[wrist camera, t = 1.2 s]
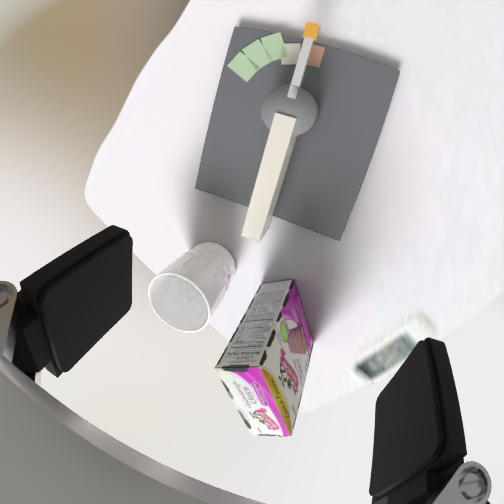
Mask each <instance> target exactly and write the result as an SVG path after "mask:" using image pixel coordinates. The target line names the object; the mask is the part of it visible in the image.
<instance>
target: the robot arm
mask: <svg viewBox="0 0 504 504" xmlns="http://www.w3.org/2000/svg"><path fill="white" fill-rule="evenodd" d="M132 246H133V240H132V237H131V236H130V234H129V232H128V231H127V230H125V229H122V228H120V227H117V226H115V225H112V226H109V227H108V228H106V229H104V230H102V231H101V232H99V233H97V234H95V235H94V236H92V237H90V238H89V239H87V240H85V241H84V242H82V243H80V244H79V245H77V246H75V247H74V248H72V249H71V250H69V251H67V252H65V253H64V254H62V255H61V256H59V257H57V258H56V259H54V260H53V261H51V262H50V263H48V264H46V265H45V266H43V267H42V268H40V269H39V270H37V271H36V272H34V273H33V274H31V275H30V276H28V277H27V278H25V279H24V280H22V281H21V282H20V286H21V290H20V291H19V292H17V289H16V287H15V286H14V285H13V284H12V283H10V282H7V281H0V504H265V503H262V502H258V501H255V500H252V499H249V498H245V497H243V496H239V495H237V494H234V493H231V492H228V491H225V490H222V489H219V488H216V487H214V486H211V485H209V484H206V483H204V482H201V481H199V480H197V479H194V478H192V477H189V476H187V475H185V474H183V473H180V472H178V471H176V470H174V469H172V468H170V467H167V466H165V465H163V464H161V463H159V462H157V461H155V460H153V459H151V458H149V457H147V456H146V455H143V454H142V453H140V452H138V451H136V450H134V449H132V448H131V447H129V446H127V445H125V444H124V443H122V442H120V441H118V440H117V439H115V438H113V437H112V436H110V435H108V434H107V433H105V432H104V431H102V430H100V429H98V428H97V427H96V426H94V425H92V424H91V423H89V422H88V421H86V420H85V419H83V418H82V417H80V416H79V415H78V414H76V413H75V412H73V411H72V410H70V409H69V408H68V407H66V406H65V405H63V404H62V403H61V402H59V401H58V400H57V399H55V398H54V397H53V396H51V395H50V394H49V393H48V392H46V391H45V390H44V389H43V388H41V387H40V380H41V370H42V369H43V368H44V367H46V369H47V370H48V371H49V372H51V373H52V374H53V375H55V376H56V377H57V378H58V377H59V376H60V375H61V374H62V373H63V372H68V371H69V370H70V369H71V368H72V367H73V366H74V365H75V364H76V363H77V362H78V361H79V360H80V359H81V358H82V357H83V356H84V355H85V354H86V353H87V352H88V351H89V350H90V349H91V348H92V347H93V346H94V345H95V344H96V343H97V342H98V341H99V340H100V339H101V338H102V337H103V336H104V335H105V334H106V333H107V332H108V331H109V330H110V329H111V328H112V327H113V326H114V325H115V324H116V323H117V322H118V321H119V320H120V319H121V318H122V317H123V316H124V315H125V314H126V313H127V312H128V311H129V310H130V308H131V304H132ZM465 455H467V450H466V442H465V436H464V429H463V422H462V417H461V412H460V406H459V401H458V396H457V391H456V386H455V382H454V377H453V373H452V369H451V365H450V361H449V357H448V354H447V349H446V346H445V343H444V342H442V341H439V340H435V339H432V338H426V339H425V340H424V341H423V340H421V341H419V342H418V343H417V345H416V346H415V348H414V349H413V351H412V352H411V353H410V355H409V356H408V358H407V359H406V360H405V362H404V363H403V365H402V366H401V367H400V369H399V370H398V371H397V373H396V374H395V375H394V377H393V378H392V379H391V380H390V382H389V383H388V384H387V386H386V387H385V388H384V389H383V391H382V392H381V393H380V394H379V396H378V398H377V401H376V409H375V431H374V447H373V459H372V471H371V479H370V488H369V493H370V495H371V496H373V498H372V504H490V503H489V502H488V498H489V496H490V493H491V479H490V476H489V474H488V472H487V470H486V469H485V468H484V467H483V466H482V465H481V464H479V463H477V462H474V461H470V462H466V463H464V458H463V457H465Z"/></svg>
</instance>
